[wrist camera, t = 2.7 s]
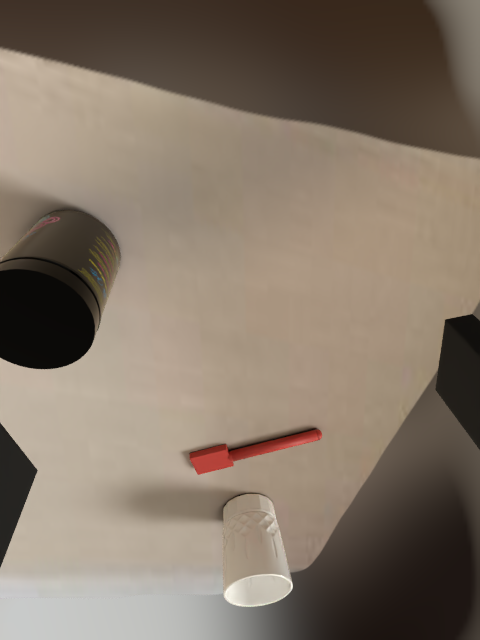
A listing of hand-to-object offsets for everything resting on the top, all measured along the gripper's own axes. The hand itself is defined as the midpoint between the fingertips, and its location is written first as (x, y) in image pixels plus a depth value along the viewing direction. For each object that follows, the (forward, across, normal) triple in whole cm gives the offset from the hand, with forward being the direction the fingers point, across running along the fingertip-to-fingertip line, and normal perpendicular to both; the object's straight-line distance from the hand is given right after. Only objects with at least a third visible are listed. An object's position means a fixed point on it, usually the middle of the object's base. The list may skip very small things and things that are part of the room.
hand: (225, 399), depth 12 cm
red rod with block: (+21, -1, -29) cm, 36 cm away
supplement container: (+21, -11, -2) cm, 24 cm away
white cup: (+21, -4, -42) cm, 47 cm away
